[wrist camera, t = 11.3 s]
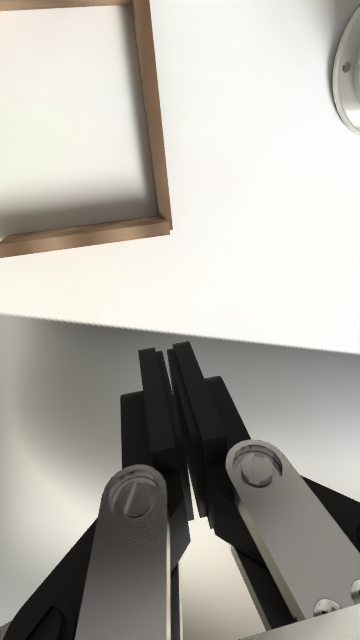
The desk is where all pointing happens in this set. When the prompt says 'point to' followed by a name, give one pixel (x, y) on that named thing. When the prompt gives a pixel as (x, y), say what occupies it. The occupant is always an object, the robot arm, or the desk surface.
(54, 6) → the walnut open frame
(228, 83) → the desk surface
